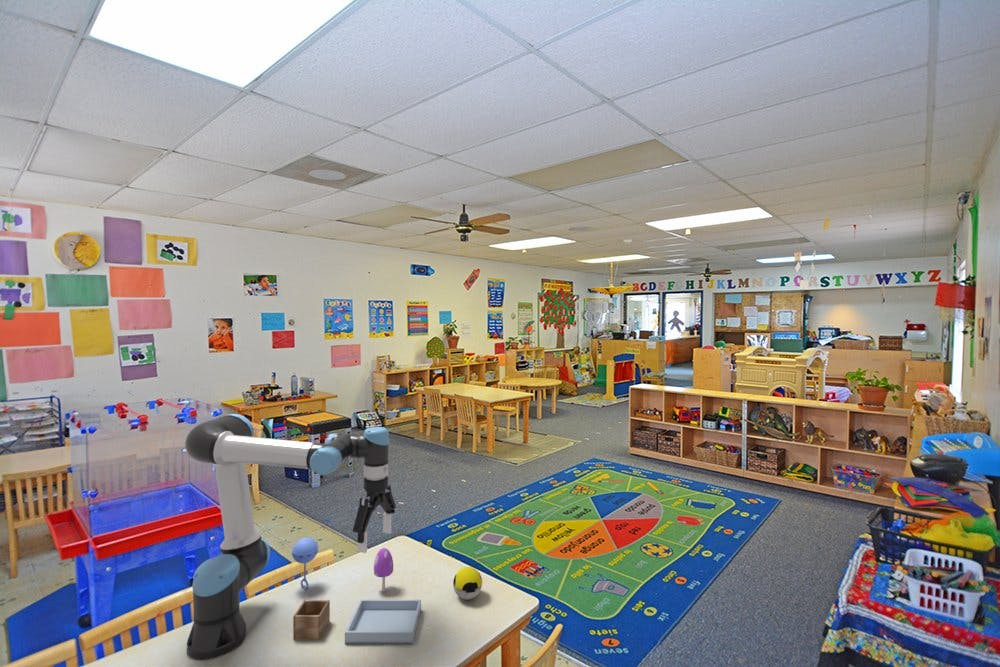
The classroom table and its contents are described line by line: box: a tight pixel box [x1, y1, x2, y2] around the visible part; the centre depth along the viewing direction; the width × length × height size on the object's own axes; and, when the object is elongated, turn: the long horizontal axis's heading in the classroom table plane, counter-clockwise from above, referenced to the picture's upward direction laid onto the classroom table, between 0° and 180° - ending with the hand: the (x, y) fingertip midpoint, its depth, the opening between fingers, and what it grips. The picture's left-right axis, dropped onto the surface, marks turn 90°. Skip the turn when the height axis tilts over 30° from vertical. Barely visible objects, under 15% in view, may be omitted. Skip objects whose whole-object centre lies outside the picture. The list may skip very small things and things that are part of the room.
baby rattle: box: [291, 537, 319, 590], centre depth 164 cm, size 9×9×18 cm
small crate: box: [292, 599, 331, 640], centre depth 142 cm, size 8×8×7 cm
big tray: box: [344, 599, 422, 645], centre depth 145 cm, size 20×16×4 cm
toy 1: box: [373, 547, 394, 592], centre depth 163 cm, size 7×7×15 cm
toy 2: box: [452, 566, 483, 601], centre depth 160 cm, size 10×10×10 cm
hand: (375, 542), depth 148 cm, fingers open, 13 cm apart
